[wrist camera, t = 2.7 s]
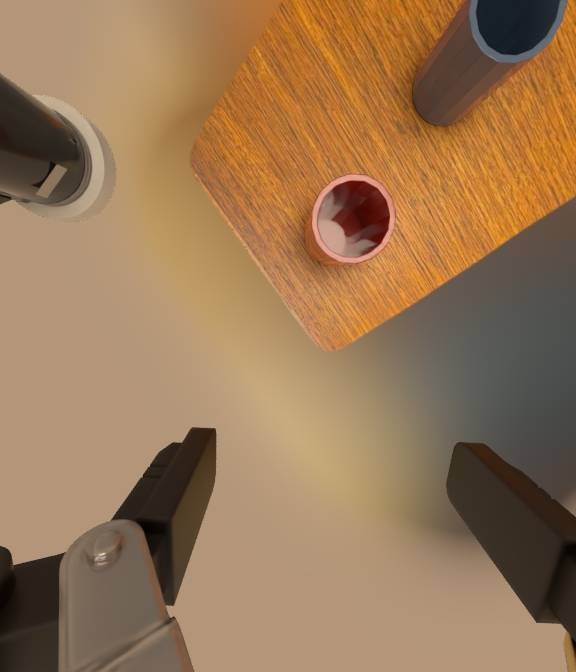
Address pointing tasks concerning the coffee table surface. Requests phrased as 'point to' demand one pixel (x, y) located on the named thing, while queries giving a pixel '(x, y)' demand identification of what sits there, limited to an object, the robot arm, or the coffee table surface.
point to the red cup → (350, 221)
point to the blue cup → (481, 54)
